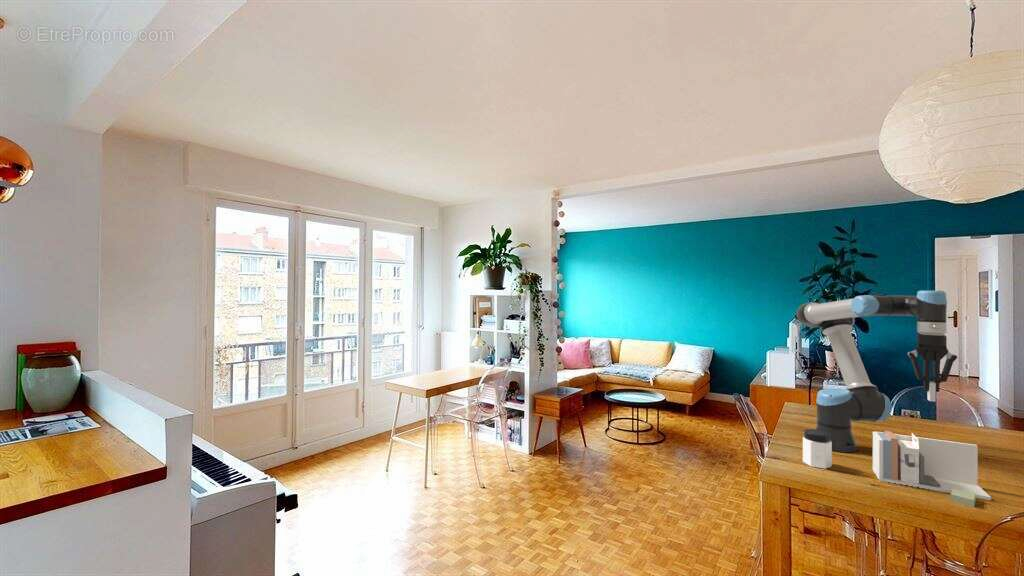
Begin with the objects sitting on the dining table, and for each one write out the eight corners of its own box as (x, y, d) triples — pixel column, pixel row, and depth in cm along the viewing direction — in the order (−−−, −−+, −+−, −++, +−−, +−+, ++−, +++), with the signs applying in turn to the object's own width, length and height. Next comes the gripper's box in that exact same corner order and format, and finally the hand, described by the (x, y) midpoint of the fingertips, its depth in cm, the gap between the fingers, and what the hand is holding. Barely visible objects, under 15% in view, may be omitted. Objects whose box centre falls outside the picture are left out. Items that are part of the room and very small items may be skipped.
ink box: (894, 471, 154) (894, 430, 154) (912, 475, 152) (912, 432, 152) (900, 481, 147) (900, 437, 147) (920, 484, 144) (920, 439, 144)
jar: (803, 465, 162) (803, 433, 162) (801, 458, 169) (801, 427, 169) (833, 470, 158) (833, 437, 158) (830, 462, 165) (830, 431, 165)
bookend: (920, 483, 145) (920, 456, 145) (913, 474, 151) (913, 448, 151) (940, 486, 142) (940, 459, 142) (932, 477, 149) (932, 451, 149)
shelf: (879, 480, 149) (879, 437, 149) (872, 469, 159) (872, 428, 159) (991, 500, 136) (991, 452, 136) (976, 486, 145) (976, 441, 145)
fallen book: (974, 508, 131) (974, 500, 131) (950, 502, 135) (950, 494, 135) (975, 501, 136) (975, 493, 136) (953, 495, 140) (953, 487, 140)
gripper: (910, 333, 154) (910, 400, 154) (961, 336, 148) (961, 405, 148) (904, 332, 161) (904, 396, 161) (952, 334, 154) (952, 400, 154)
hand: (931, 400), depth 154 cm, fingers closed
